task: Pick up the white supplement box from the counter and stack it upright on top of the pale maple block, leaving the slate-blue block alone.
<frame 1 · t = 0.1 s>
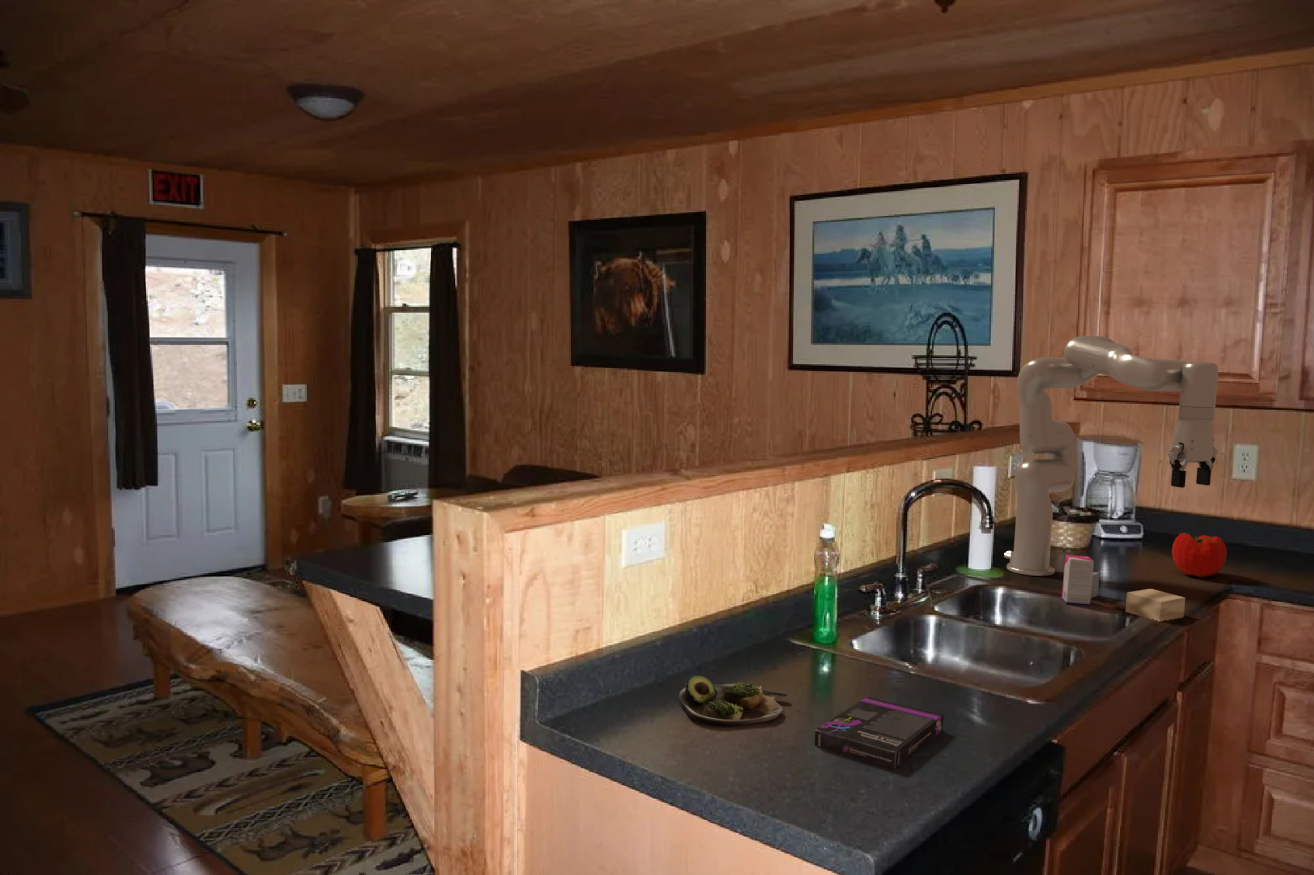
hand: (1190, 485, 238), 31 cm above the countertop, fingers open, 9 cm apart
avocado toast plate: (725, 710, 174), on the countertop
maple block: (1154, 615, 240), on the countertop
slate block: (1083, 595, 256), on the countertop
tomato: (1197, 575, 281), on the countertop
box: (879, 741, 162), on the countertop
supplement box: (1075, 603, 248), on the countertop
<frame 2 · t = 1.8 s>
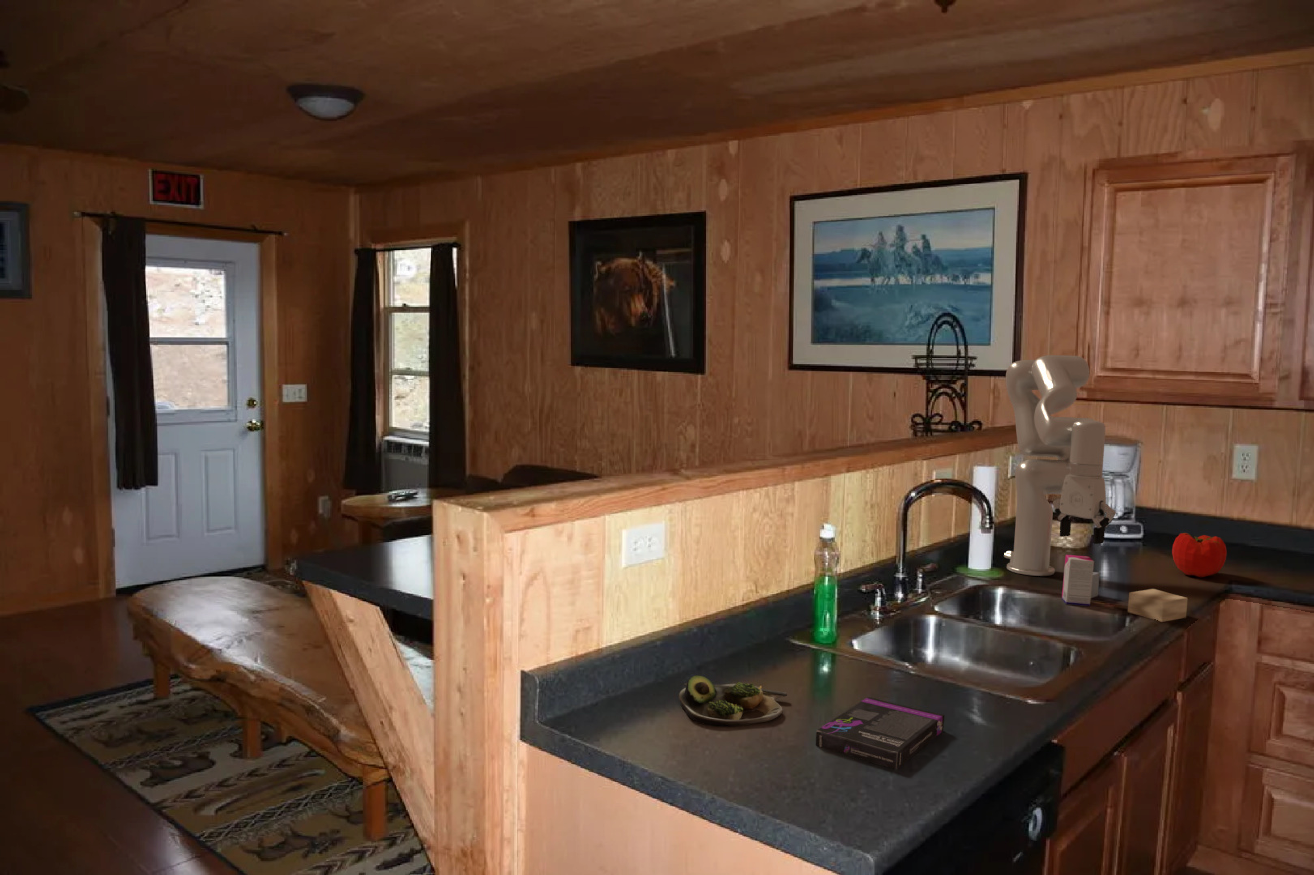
hand: (1081, 539, 246), 16 cm above the countertop, fingers open, 9 cm apart
nothing on the countertop moved.
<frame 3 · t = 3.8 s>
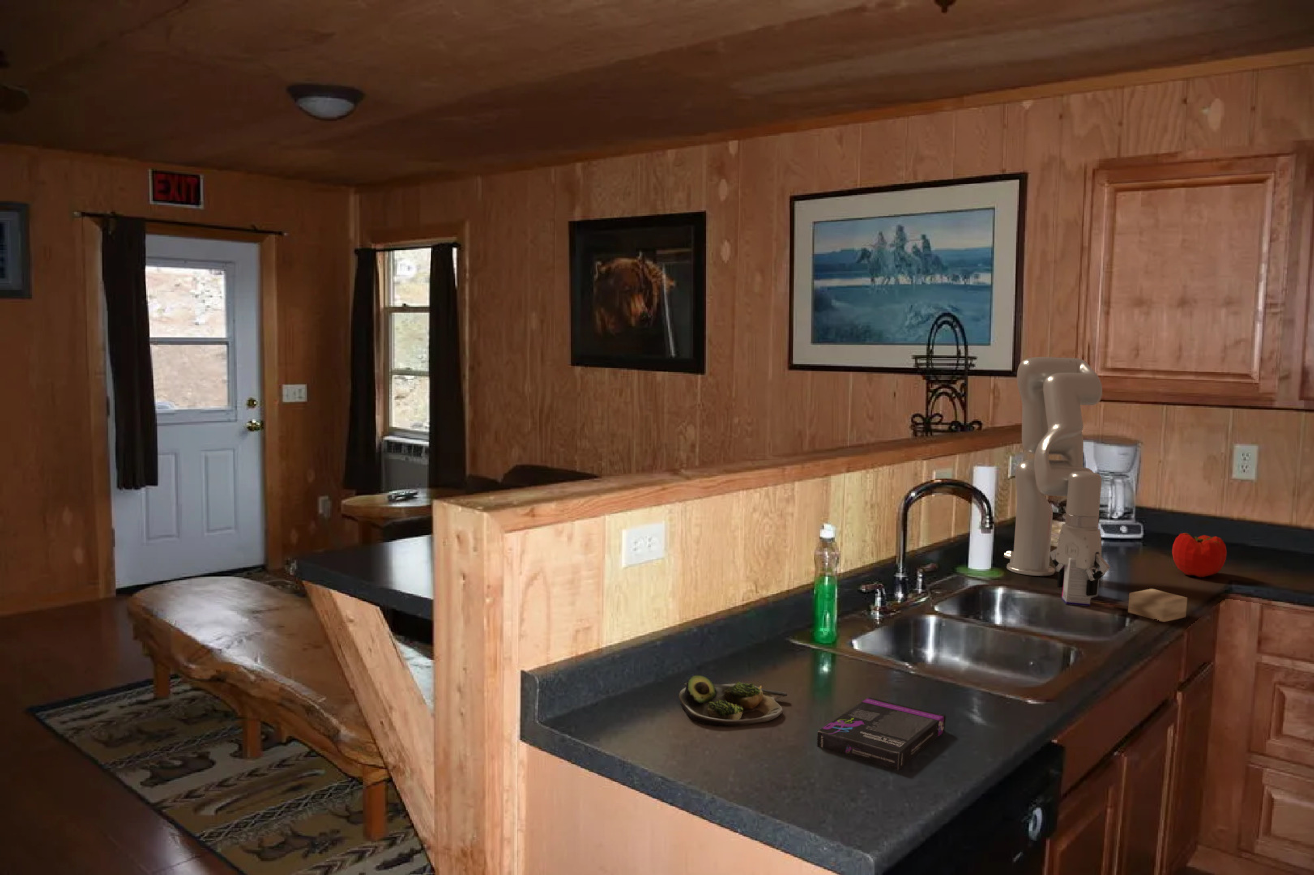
hand: (1076, 590, 248), 3 cm above the countertop, fingers closed on supplement box, 7 cm apart
supplement box: (1075, 603, 248), on the countertop, touching gripper
everything else where it was.
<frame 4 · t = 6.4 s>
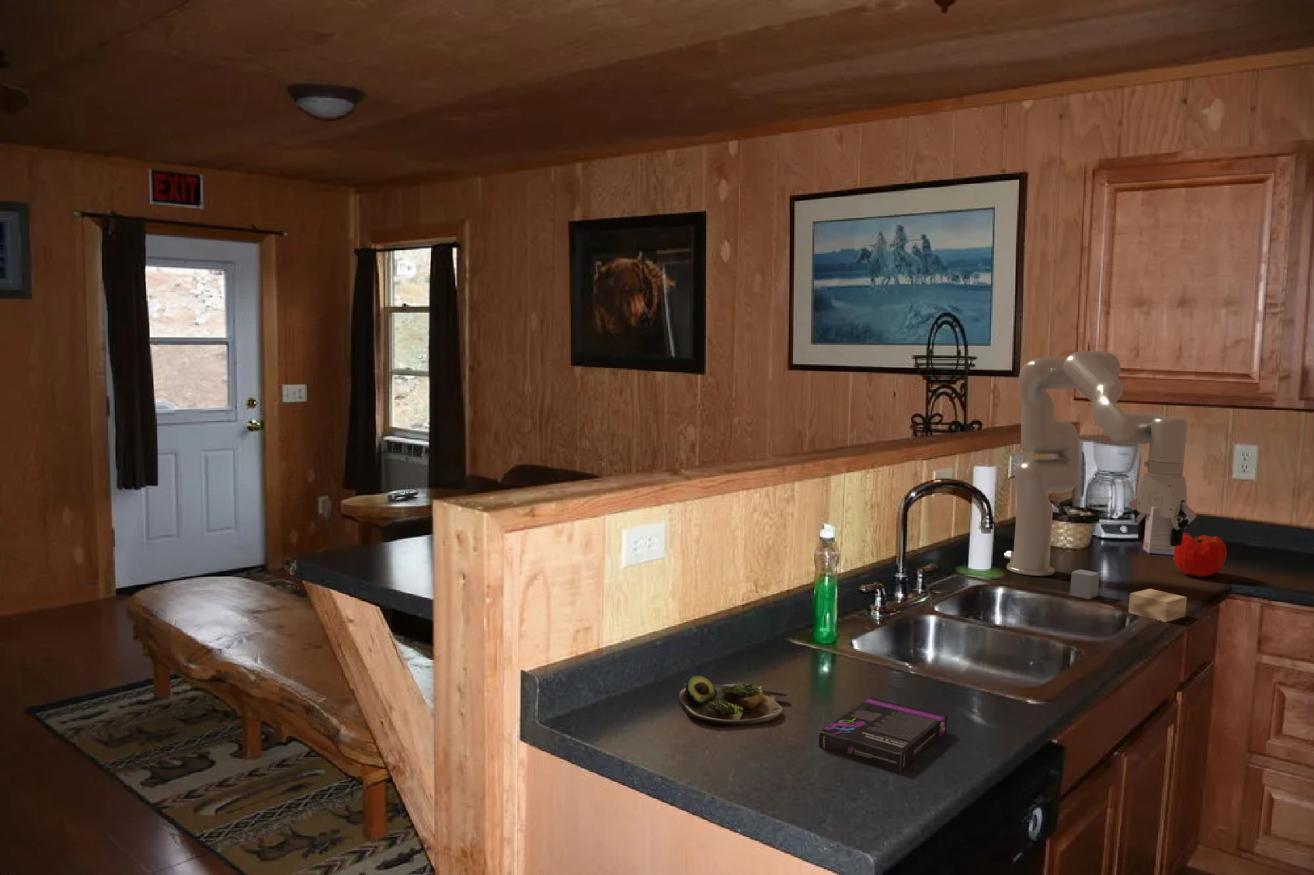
hand: (1159, 541, 238), 18 cm above the countertop, fingers closed on supplement box, 7 cm apart
supplement box: (1157, 554, 238), point 15 cm above the countertop, touching gripper
everything else where it was.
when the fingers open (9 cm above the countertop, at t = 9.0 s): supplement box drops 1 cm, resting on maple block.
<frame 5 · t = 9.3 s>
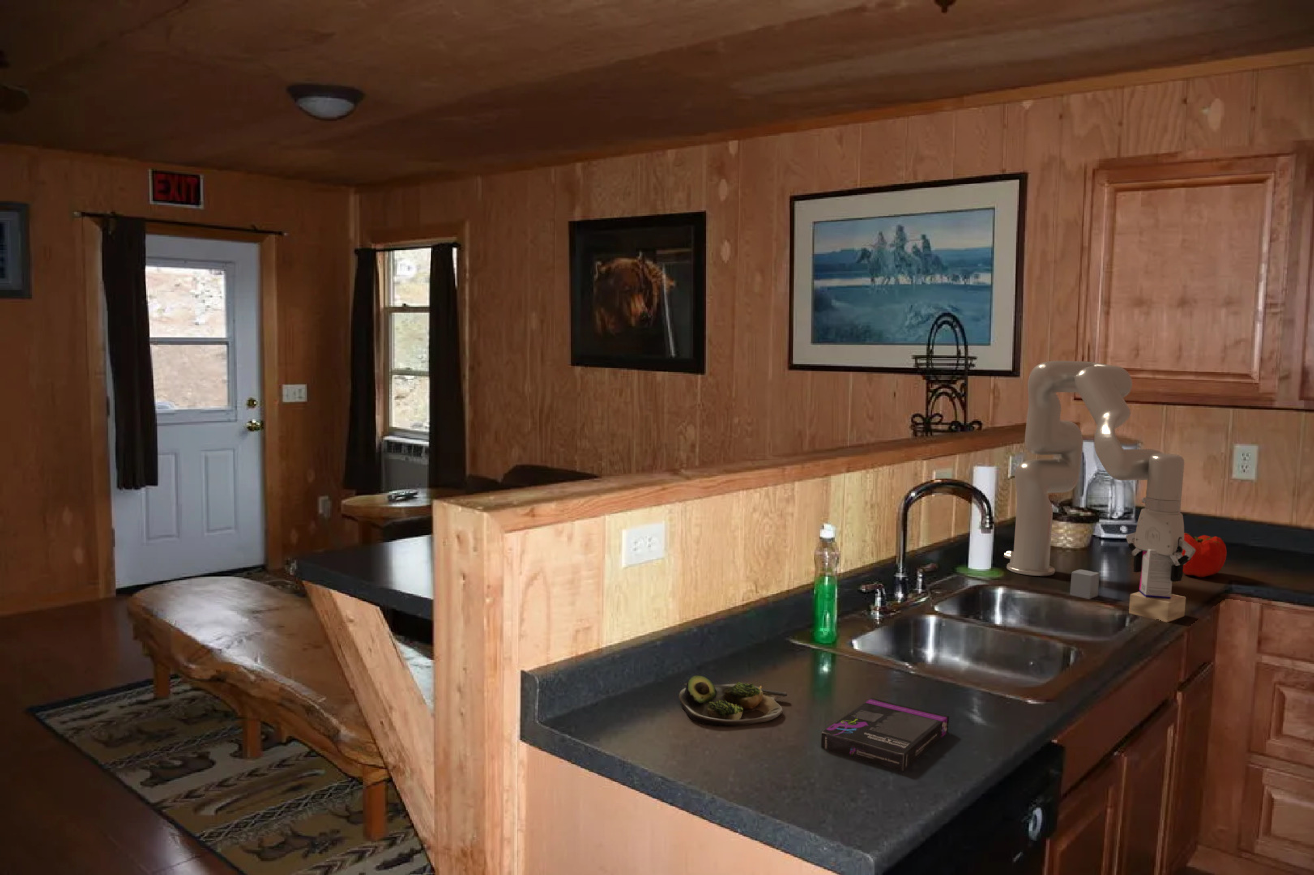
hand: (1157, 576, 239), 9 cm above the countertop, fingers open, 9 cm apart
maple block: (1156, 616, 240), on the countertop, touching supplement box
supplement box: (1154, 595, 239), point 4 cm above the countertop, touching maple block
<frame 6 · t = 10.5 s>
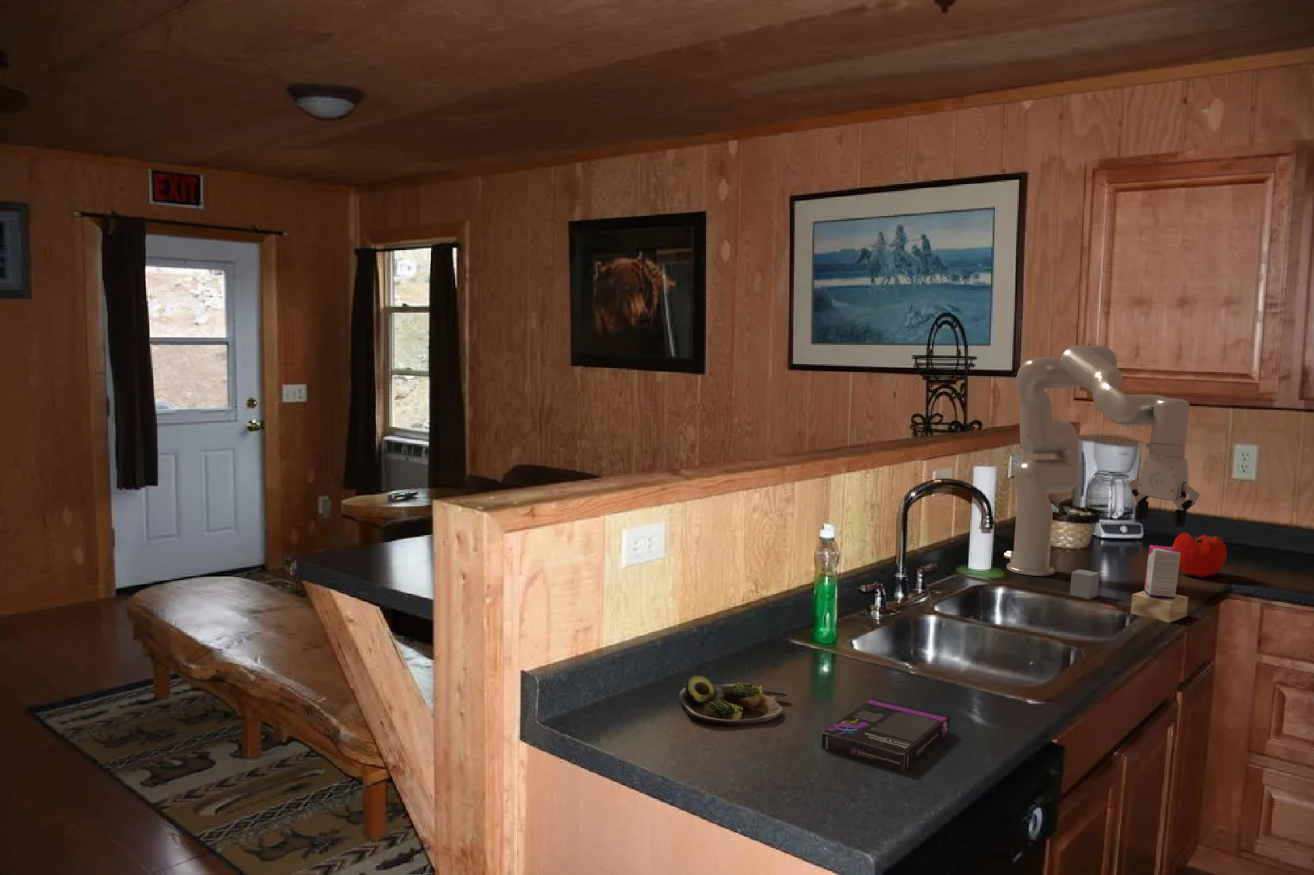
hand: (1160, 521, 238), 22 cm above the countertop, fingers open, 9 cm apart
maple block: (1158, 616, 239), on the countertop
supplement box: (1159, 595, 239), point 5 cm above the countertop
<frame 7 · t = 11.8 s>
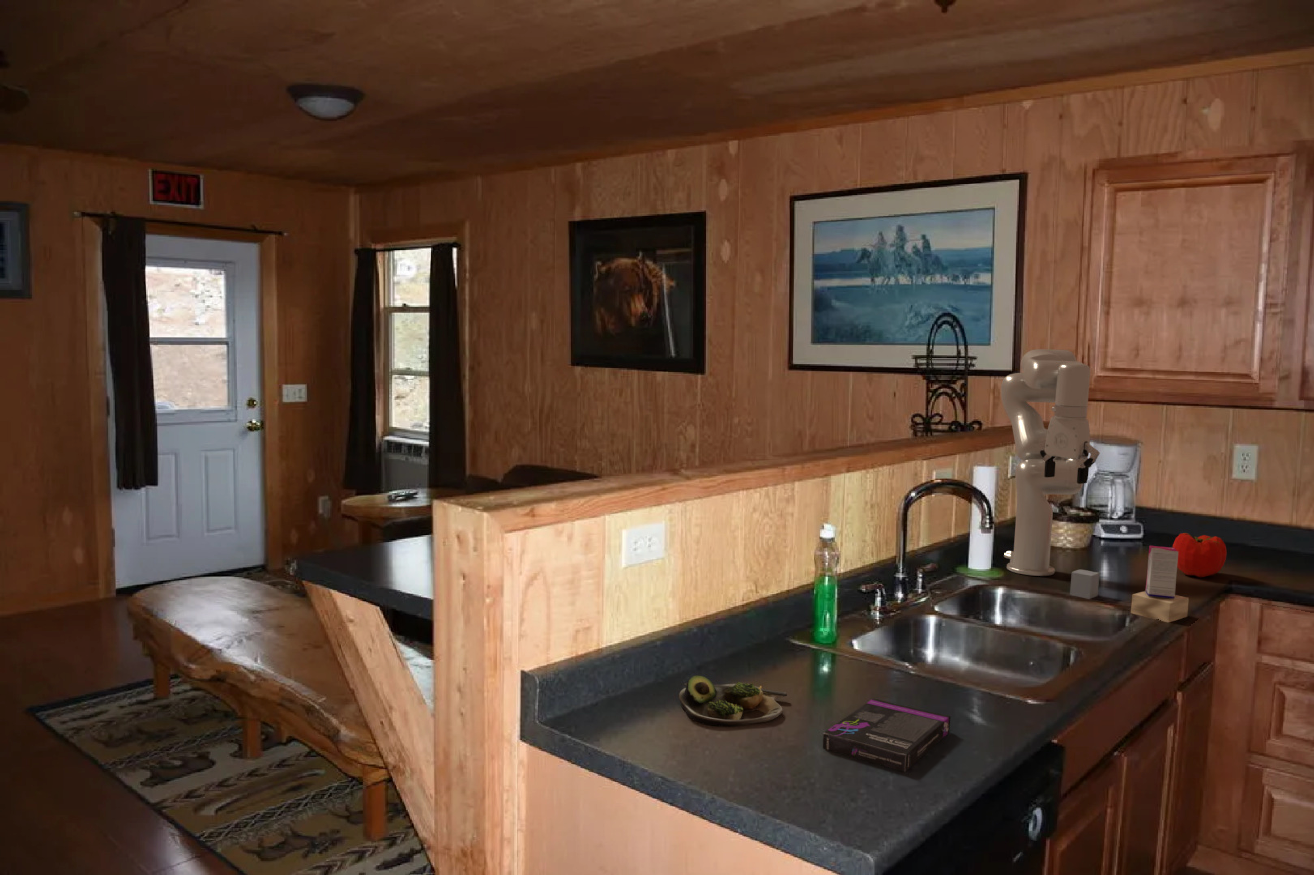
hand: (1065, 480, 252), 30 cm above the countertop, fingers open, 9 cm apart
maple block: (1158, 616, 239), on the countertop, touching supplement box
supplement box: (1159, 596, 239), point 4 cm above the countertop, touching maple block
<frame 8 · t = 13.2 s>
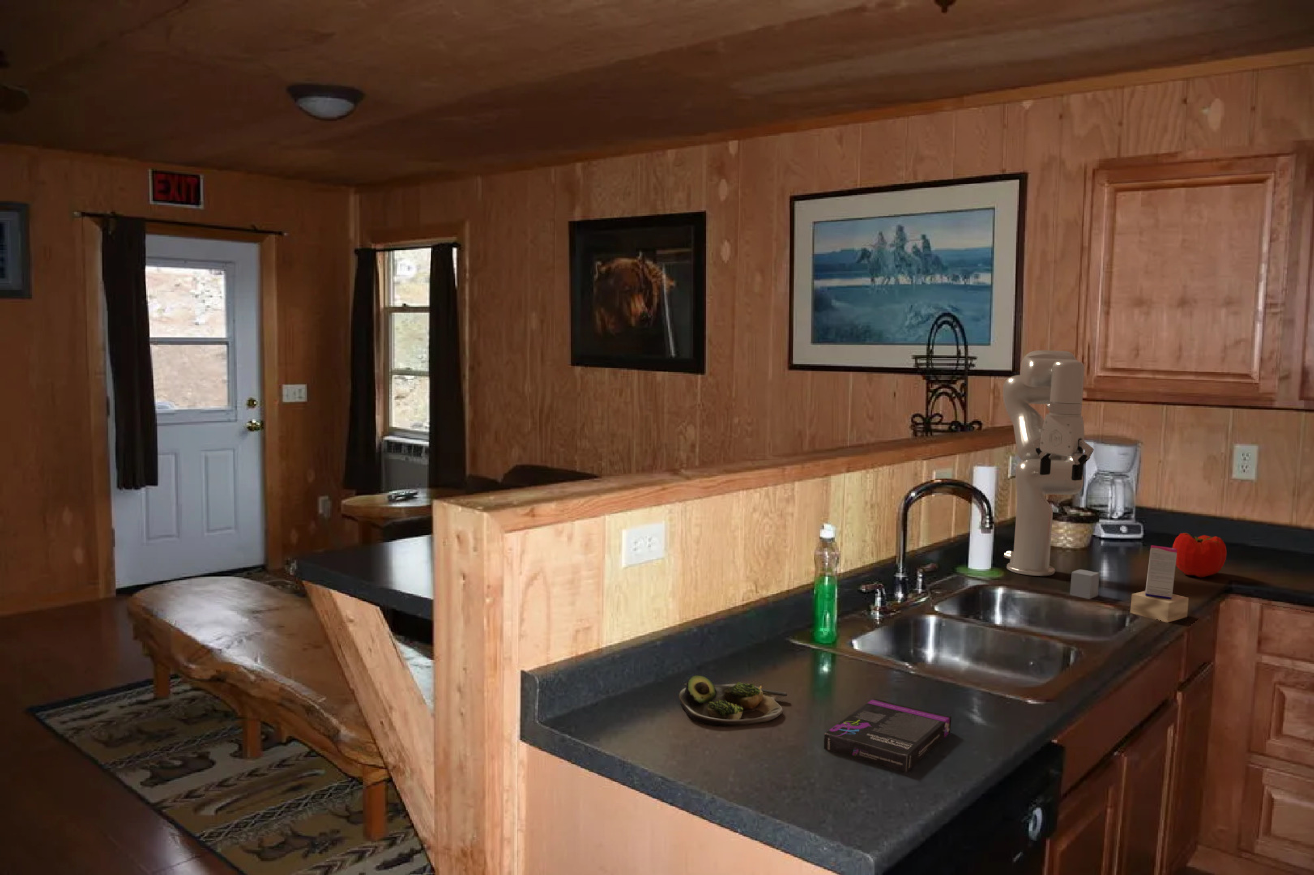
hand: (1060, 477, 253), 30 cm above the countertop, fingers open, 9 cm apart
maple block: (1158, 616, 239), on the countertop
supplement box: (1158, 596, 239), point 4 cm above the countertop
at the end: supplement box 0.4 cm off-centre on the maple block, point 4.8 cm above the maple block's base; supplement box tilted 1°; the gripper is holding nothing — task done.
